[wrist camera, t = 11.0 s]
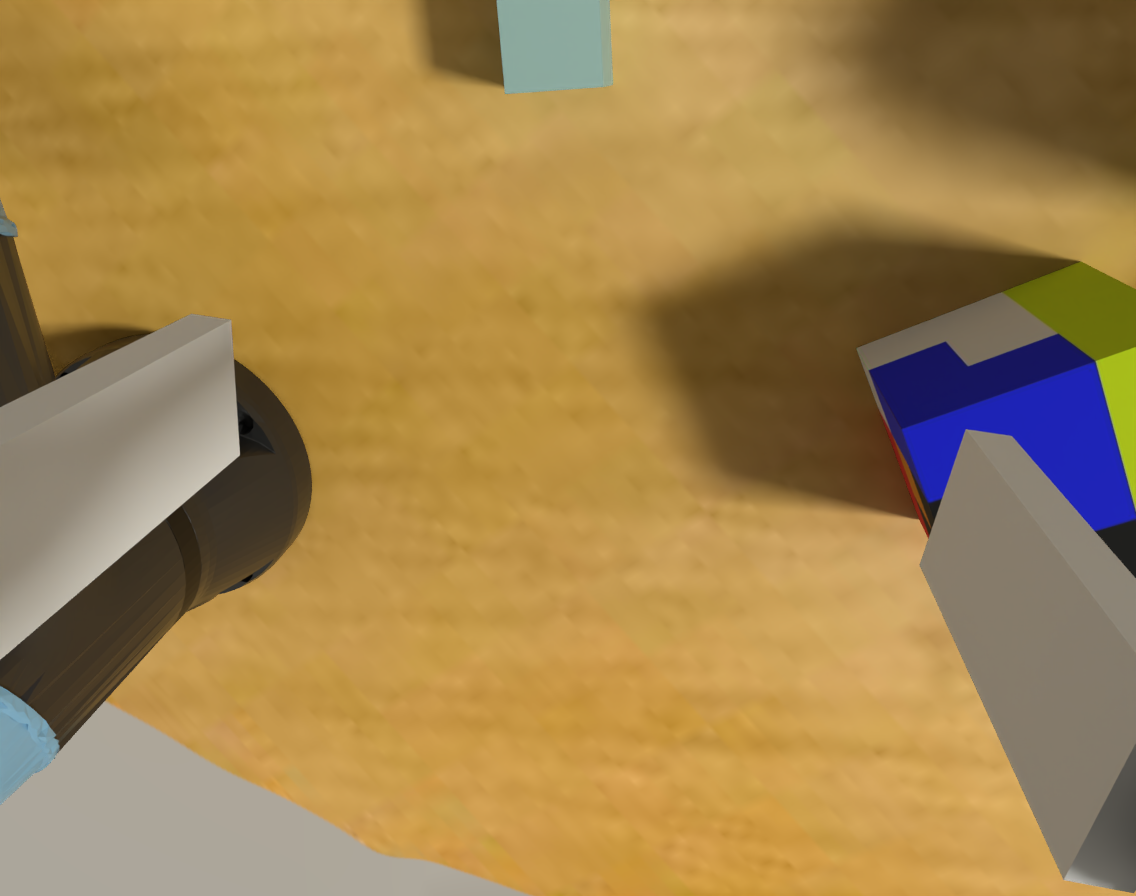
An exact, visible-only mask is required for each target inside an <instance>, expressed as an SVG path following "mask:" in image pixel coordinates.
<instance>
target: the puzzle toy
mask: <svg viewBox="0 0 1136 896" xmlns="http://www.w3.org/2000/svg"><path fill="white" fill-rule="evenodd" d="M856 349H857V352H858V355H859V358H860V360H861V363H862V366H863V368H864V371H865V374H866V377H867V379H868V382H869V385H870V387H871V390H872V393H873V396H874V398H875V401H876V404H877V406H878V409H879V412H880V414H881V417H882V420H883V423H884V425H885V428H886V431H887V433H888V436H889V439H890V442H891V444H892V447H893V450H894V452H895V455H896V458H897V461H898V463H899V466H900V469H901V471H902V474H903V477H904V479H905V482H906V485H907V488H908V490H909V493H910V496H911V498H912V501H913V504H914V507H915V509H916V512H917V515H918V517H919V520H920V522H921V524H922V526H923V528H924V530H925V532H926V534H927V536H928V539H929V536H930V533H931V530H932V527H933V524H934V521H935V518H936V515H937V512H938V509H939V506H940V503H941V500H942V498H943V495H944V492H945V489H946V486H947V483H948V480H949V477H950V474H951V471H952V468H953V465H954V462H955V459H956V456H957V453H958V450H959V447H960V445H961V442H962V439H963V436H964V433H965V430H966V429H968V430H975V431H982V432H988V433H995V434H1002V435H1009V436H1012V437H1013V438H1014V439H1015V440H1016V441H1017V443H1018V444H1019V445H1020V446H1021V447H1022V448H1023V449H1024V451H1025V452H1026V453H1027V454H1028V455H1029V456H1030V457H1031V459H1032V460H1033V461H1034V462H1035V463H1036V464H1037V465H1038V467H1039V468H1040V469H1041V470H1042V471H1043V472H1044V474H1045V475H1046V476H1047V477H1048V478H1049V479H1050V480H1051V482H1052V483H1053V484H1054V485H1055V486H1056V487H1057V488H1058V490H1059V491H1060V492H1061V493H1062V494H1063V495H1064V497H1065V498H1066V499H1067V500H1068V501H1069V502H1070V503H1071V505H1072V506H1073V507H1074V508H1075V509H1076V510H1077V511H1078V513H1079V514H1080V515H1081V516H1082V517H1083V518H1084V520H1085V521H1086V522H1087V523H1088V524H1089V525H1090V526H1091V528H1092V529H1093V530H1094V531H1095V532H1096V533H1097V534H1098V536H1099V537H1100V538H1101V539H1102V540H1103V541H1104V543H1105V544H1106V545H1107V546H1108V547H1109V548H1110V549H1111V551H1112V552H1113V553H1114V554H1115V555H1116V556H1117V557H1118V559H1119V560H1120V561H1121V562H1122V563H1123V564H1124V566H1125V567H1126V568H1127V569H1128V570H1129V571H1130V572H1131V574H1132V575H1133V576H1134V577H1135V578H1136V289H1134V288H1132V287H1130V286H1128V285H1126V284H1124V283H1122V282H1120V281H1118V280H1116V279H1114V278H1112V277H1110V276H1108V275H1106V274H1104V273H1102V272H1100V271H1098V270H1097V269H1095V268H1093V267H1091V266H1089V265H1087V264H1085V263H1083V262H1078V263H1076V264H1073V265H1071V266H1068V267H1065V268H1063V269H1060V270H1058V271H1055V272H1052V273H1050V274H1047V275H1045V276H1042V277H1040V278H1037V279H1034V280H1032V281H1029V282H1027V283H1024V284H1021V285H1019V286H1016V287H1014V288H1011V289H1008V290H1006V291H1003V292H1001V293H998V294H995V295H993V296H990V297H988V298H985V299H982V300H980V301H977V302H975V303H972V304H969V305H967V306H964V307H962V308H959V309H956V310H954V311H951V312H949V313H946V314H943V315H941V316H938V317H936V318H933V319H930V320H928V321H925V322H923V323H920V324H917V325H915V326H912V327H910V328H907V329H904V330H902V331H899V332H897V333H894V334H892V335H889V336H886V337H884V338H881V339H879V340H876V341H873V342H871V343H868V344H866V345H863V346H860V347H858V348H856Z"/></svg>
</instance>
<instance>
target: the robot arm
mask: <svg viewBox="0 0 1136 896" xmlns="http://www.w3.org/2000/svg"><path fill="white" fill-rule="evenodd" d="M13 237H18V234H17V228H16V225H15V223H13V222H12V221H10V220H9V219H8V218H7V216H6V214H5V211H4V208H3V205H2V203H1V200H0V805H1V804H2V803H3V802H4V801H5V800H6V799H7V798H8V797H9V796H10V795H12V794H13V793H14V792H15V791H16V790H17V789H18V788H19V787H20V786H21V785H22V784H23V783H24V782H25V781H26V780H27V779H29V778H30V777H31V776H32V774H34V773H37V772H39V771H41V770H43V769H44V768H45V767H47V765H48V764H49V763H51V761H52V760H53V759H54V758H55V755H56V754H57V753H58V752H59V751H60V750H61V749H62V748H63V746H64V745H65V744H66V743H67V742H68V741H69V740H70V739H71V738H72V736H73V735H74V734H75V733H76V732H77V731H78V730H79V729H80V728H81V727H82V725H83V724H84V723H85V722H86V721H87V720H88V719H89V718H90V717H91V715H92V714H93V713H94V712H95V711H96V710H97V709H98V708H99V707H100V705H101V704H102V703H103V702H104V701H105V700H106V699H107V698H108V697H109V696H110V694H111V693H112V692H113V691H114V690H115V689H116V688H117V687H118V686H119V685H120V683H121V682H122V681H123V680H124V679H125V678H126V677H127V676H128V675H129V673H130V672H131V671H132V670H133V669H134V668H135V667H136V666H137V665H138V664H139V662H140V661H141V660H142V659H143V658H144V657H145V656H146V655H147V654H148V652H149V651H150V650H151V649H152V648H153V647H154V646H155V645H156V644H157V643H158V641H159V640H160V639H161V638H162V637H163V636H164V635H165V634H166V633H167V631H168V630H169V629H170V628H171V627H172V626H173V625H174V624H175V623H176V622H177V621H178V620H179V619H180V618H181V617H182V616H183V615H184V614H185V612H187V611H190V610H192V609H194V608H196V607H198V606H200V605H202V604H204V603H206V602H208V601H210V600H212V599H213V598H214V597H216V596H217V595H218V594H222V593H226V592H229V591H232V590H235V589H237V588H240V587H242V586H244V585H246V584H248V583H250V582H252V581H254V580H255V579H257V578H258V577H260V576H261V575H262V574H264V573H265V572H266V571H267V570H269V569H270V568H271V567H272V566H273V565H274V564H275V563H276V562H277V561H278V559H279V558H280V557H281V556H282V555H283V554H284V553H285V551H286V550H287V549H288V548H289V547H290V546H291V544H292V543H293V542H294V541H295V539H296V538H297V537H298V535H299V533H300V531H301V530H302V528H303V526H304V523H305V521H306V518H307V515H308V512H309V508H310V502H311V493H312V479H311V470H310V464H309V460H308V455H307V452H306V449H305V446H304V443H303V440H302V438H301V435H300V433H299V431H298V429H297V427H296V425H295V423H294V422H293V420H292V418H291V416H290V415H289V413H288V412H287V410H286V409H285V407H284V406H283V405H282V403H281V402H280V401H279V399H278V398H277V397H276V396H275V395H274V393H273V392H272V391H271V390H270V389H269V388H268V387H267V386H266V385H265V384H264V383H263V382H262V381H261V380H260V379H259V378H258V377H257V376H255V375H254V374H253V373H252V372H251V371H249V370H248V369H247V368H245V367H244V366H243V365H241V364H240V363H239V362H237V361H235V360H234V356H233V341H232V326H231V320H229V319H222V318H215V317H209V316H202V315H195V314H190V315H188V316H186V317H184V318H182V319H180V320H178V321H176V322H174V323H172V324H170V325H168V326H165V327H163V328H161V329H159V330H157V331H155V332H153V333H151V334H146V335H136V336H130V337H126V338H122V339H119V340H116V341H113V342H111V343H109V344H106V345H104V346H102V347H100V348H98V349H96V350H94V351H91V352H89V353H87V354H85V355H83V356H81V357H80V358H78V359H76V360H75V361H73V362H72V363H70V364H69V365H68V366H66V367H65V368H64V369H63V370H62V371H61V372H60V373H59V374H58V375H57V376H56V377H55V375H54V372H53V368H52V365H51V362H50V359H49V355H48V352H47V349H46V345H45V342H44V339H43V335H42V332H41V329H40V326H39V322H38V319H37V316H36V312H35V309H34V306H33V302H32V299H31V296H30V293H29V289H28V286H27V283H26V279H25V276H24V273H23V269H22V266H21V263H20V260H19V256H18V253H17V249H16V245H15V242H14V238H13ZM920 567H921V569H922V571H923V574H924V576H925V578H926V580H927V582H928V584H929V587H930V589H931V591H932V593H933V595H934V598H935V600H936V602H937V604H938V606H939V609H940V611H941V613H942V615H943V617H944V619H945V622H946V624H947V626H948V628H949V630H950V633H951V635H952V637H953V639H954V641H955V643H956V646H957V648H958V650H959V652H960V654H961V657H962V659H963V661H964V663H965V665H966V668H967V670H968V672H969V674H970V676H971V678H972V681H973V683H974V685H975V687H976V689H977V692H978V694H979V696H980V698H981V700H982V702H983V705H984V707H985V709H986V711H987V713H988V716H989V718H990V720H991V722H992V724H993V727H994V729H995V731H996V733H997V735H998V737H999V740H1000V742H1001V744H1002V746H1003V748H1004V751H1005V753H1006V755H1007V757H1008V759H1009V761H1010V764H1011V766H1012V768H1013V770H1014V772H1015V775H1016V777H1017V779H1018V781H1019V783H1020V786H1021V788H1022V790H1023V792H1024V794H1025V796H1026V799H1027V801H1028V803H1029V805H1030V807H1031V810H1032V812H1033V814H1034V816H1035V818H1036V820H1037V823H1038V825H1039V827H1040V829H1041V831H1042V834H1043V836H1044V838H1045V840H1046V842H1047V845H1048V847H1049V849H1050V851H1051V853H1052V855H1053V858H1054V860H1055V862H1056V864H1057V866H1058V869H1059V871H1060V873H1061V875H1062V877H1063V880H1067V881H1072V882H1077V883H1083V884H1088V885H1093V886H1099V887H1104V888H1109V889H1115V890H1120V891H1125V892H1131V893H1134V892H1135V891H1136V578H1135V577H1134V576H1133V575H1132V574H1131V572H1130V571H1129V570H1128V569H1127V568H1126V567H1125V566H1124V564H1123V563H1122V562H1121V561H1120V560H1119V559H1118V557H1117V556H1116V555H1115V554H1114V553H1113V552H1112V551H1111V549H1110V548H1109V547H1108V546H1107V545H1106V544H1105V543H1104V541H1103V540H1102V539H1101V538H1100V537H1099V536H1098V534H1097V533H1096V532H1095V531H1094V530H1093V529H1092V528H1091V526H1090V525H1089V524H1088V523H1087V522H1086V521H1085V520H1084V518H1083V517H1082V516H1081V515H1080V514H1079V513H1078V511H1077V510H1076V509H1075V508H1074V507H1073V506H1072V505H1071V503H1070V502H1069V501H1068V500H1067V499H1066V498H1065V497H1064V495H1063V494H1062V493H1061V492H1060V491H1059V490H1058V488H1057V487H1056V486H1055V485H1054V484H1053V483H1052V482H1051V480H1050V479H1049V478H1048V477H1047V476H1046V475H1045V474H1044V472H1043V471H1042V470H1041V469H1040V468H1039V467H1038V465H1037V464H1036V463H1035V462H1034V461H1033V460H1032V459H1031V457H1030V456H1029V455H1028V454H1027V453H1026V452H1025V451H1024V449H1023V448H1022V447H1021V446H1020V445H1019V444H1018V443H1017V441H1016V440H1015V439H1014V438H1013V437H1012V436H1009V435H1002V434H995V433H988V432H982V431H975V430H968V429H966V430H965V433H964V436H963V439H962V442H961V445H960V447H959V450H958V453H957V456H956V459H955V462H954V465H953V468H952V471H951V474H950V477H949V480H948V483H947V486H946V489H945V492H944V495H943V498H942V500H941V503H940V506H939V509H938V512H937V515H936V518H935V521H934V524H933V527H932V530H931V533H930V536H929V539H928V542H927V545H926V548H925V551H924V554H923V556H922V559H921V562H920Z"/></svg>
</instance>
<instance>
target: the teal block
mask: <svg viewBox="0 0 1136 896" xmlns="http://www.w3.org/2000/svg"><path fill="white" fill-rule="evenodd" d="M497 11H498V22H499V33H500V44H501V55H502V66H503V77H504V88H505V94H512V93H526V92H540V91H553V90H567V89H581V88H595V87H605V86H610V85H613V72H612V48H611V24H610V1H609V0H497Z"/></svg>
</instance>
